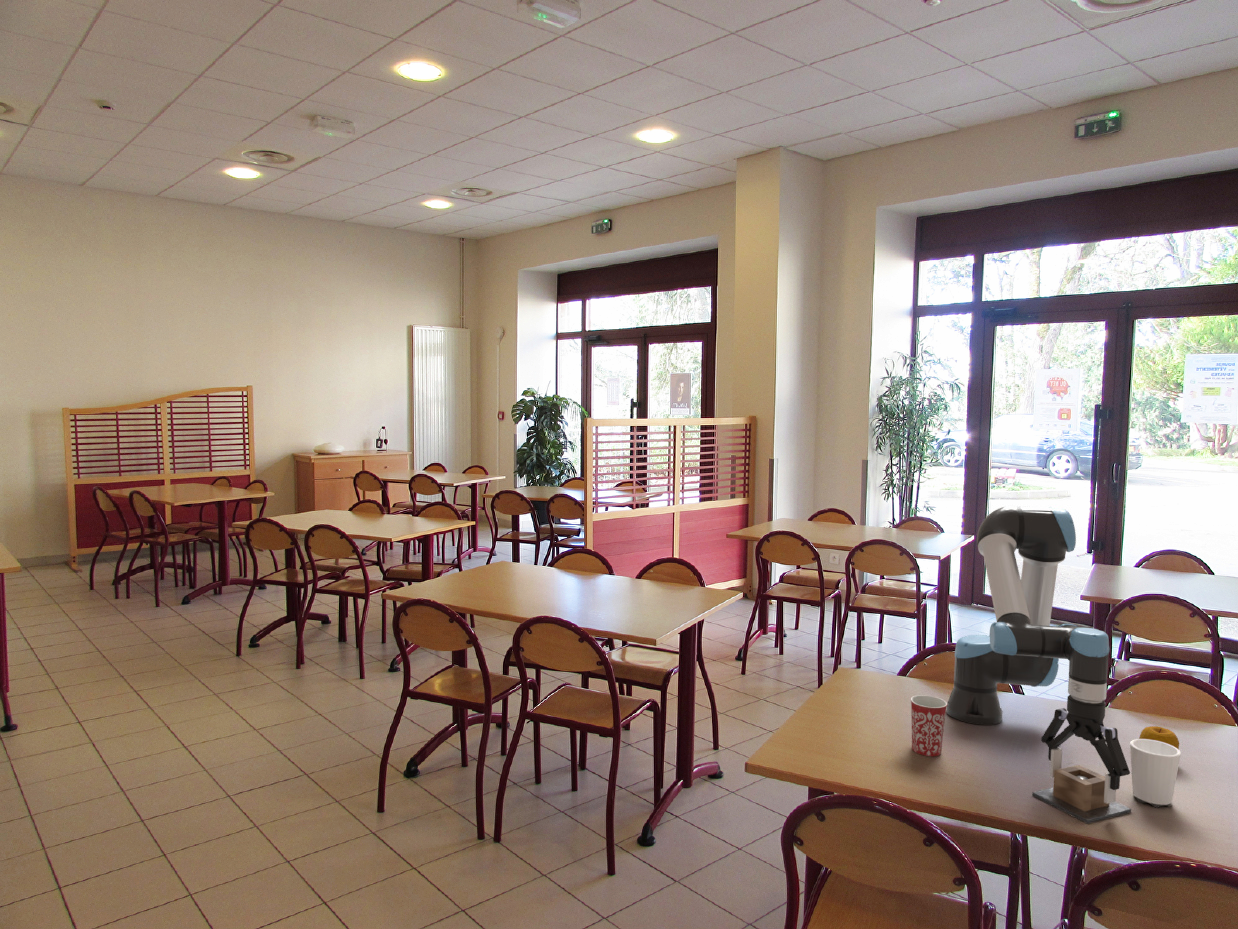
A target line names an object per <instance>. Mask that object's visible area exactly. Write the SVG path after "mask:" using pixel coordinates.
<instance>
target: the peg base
mask: <svg viewBox="0 0 1238 929" xmlns="http://www.w3.org/2000/svg"><path fill="white" fill-rule="evenodd" d="M1076 777H1079V778H1081V779H1083V780H1087V779H1088V778H1086V777H1083V776H1076ZM1032 797H1035V798H1037V799H1038V800H1041V801H1042V802H1044V803H1046V804H1048V805H1050V806H1052V807H1054V808H1055V809H1058V810H1060V811H1062V812H1064V813H1066V814H1067V813H1068V815H1069V814H1070V816H1071V815H1072V817H1073V818H1076V819H1077V820H1080V821H1081V822H1083V823H1085V824H1088V825H1089V824H1092V823H1096V822H1100V821H1104V820H1107V819H1111V818H1114V817H1115V818H1116V817H1118V816H1119V817H1120V816H1123V815H1126V814H1129V813H1132V808H1130V807H1128V806H1126V805H1124V804H1122V803H1120V802H1117V801H1116V800H1115V802H1112V803H1109V805H1107V806H1104V807H1100V808H1096V809H1092V810H1088V811H1083V810H1081V809H1079V808H1077V807H1075V806H1073V805H1071V804H1069V803H1067V802H1065V801H1063V800H1061V799H1059V798H1057V797H1055V796H1053V787H1050V788H1049V787H1048V788H1045V789H1041V790H1035V791H1032Z"/></svg>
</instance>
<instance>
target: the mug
mask: <svg viewBox="0 0 1238 929" xmlns="http://www.w3.org/2000/svg"><path fill="white" fill-rule="evenodd" d="M947 702H948V701H946V700H945V699H942V698H940V697H937V696H933V695H925V694H923V695H922V694H921V695H920V694H919V695H913V696H911V697H910V703H911V704H910V705H911V706H910V707H911V712H910V713H911V750H912V751H914V753H916V754H919V755H921V756H924V757H925V756H926V757H938V756H940V755H941V754H942V749H943V741H944V740H943V739H944V730H945V723H946V722H945V721H946V714H947V712H946V708H947Z"/></svg>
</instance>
